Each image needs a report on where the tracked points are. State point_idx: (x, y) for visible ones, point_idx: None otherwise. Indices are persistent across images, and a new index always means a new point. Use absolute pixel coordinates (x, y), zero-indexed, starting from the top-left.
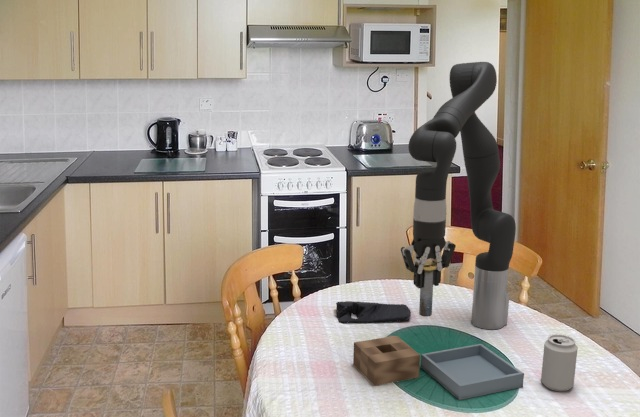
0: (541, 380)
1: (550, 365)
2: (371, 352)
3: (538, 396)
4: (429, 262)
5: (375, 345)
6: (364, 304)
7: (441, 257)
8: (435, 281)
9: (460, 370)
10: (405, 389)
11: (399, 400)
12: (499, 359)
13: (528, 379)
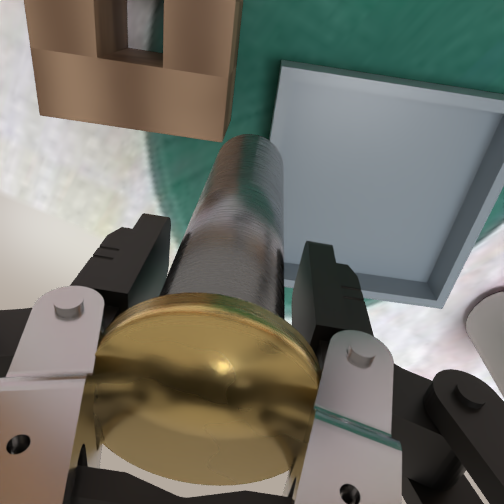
0: (481, 303)
1: (490, 365)
2: (55, 27)
3: (417, 324)
4: (273, 387)
5: None
6: None
7: (486, 468)
8: (294, 308)
9: (359, 162)
10: (156, 157)
11: (113, 194)
12: (473, 222)
13: (478, 268)
